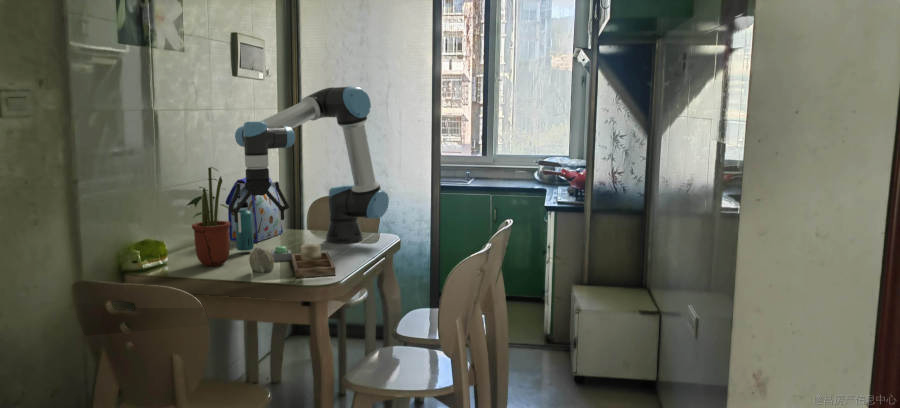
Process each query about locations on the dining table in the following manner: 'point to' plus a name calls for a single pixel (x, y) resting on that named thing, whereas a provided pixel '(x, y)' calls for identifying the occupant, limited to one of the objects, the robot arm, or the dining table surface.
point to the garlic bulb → (261, 260)
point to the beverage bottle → (245, 230)
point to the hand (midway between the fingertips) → (260, 230)
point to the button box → (282, 256)
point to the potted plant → (211, 229)
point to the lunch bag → (256, 213)
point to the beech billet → (310, 252)
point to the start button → (281, 249)
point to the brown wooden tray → (313, 266)
